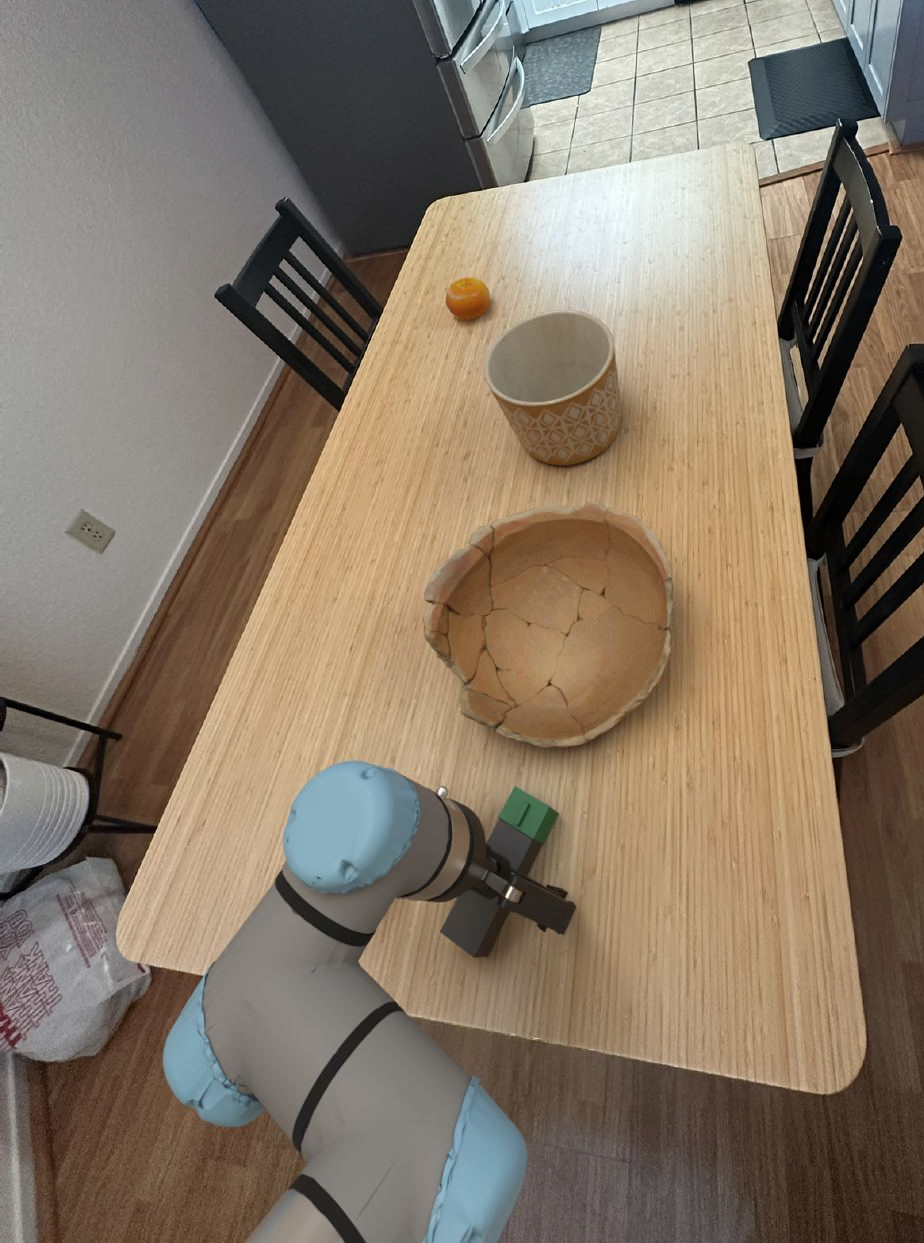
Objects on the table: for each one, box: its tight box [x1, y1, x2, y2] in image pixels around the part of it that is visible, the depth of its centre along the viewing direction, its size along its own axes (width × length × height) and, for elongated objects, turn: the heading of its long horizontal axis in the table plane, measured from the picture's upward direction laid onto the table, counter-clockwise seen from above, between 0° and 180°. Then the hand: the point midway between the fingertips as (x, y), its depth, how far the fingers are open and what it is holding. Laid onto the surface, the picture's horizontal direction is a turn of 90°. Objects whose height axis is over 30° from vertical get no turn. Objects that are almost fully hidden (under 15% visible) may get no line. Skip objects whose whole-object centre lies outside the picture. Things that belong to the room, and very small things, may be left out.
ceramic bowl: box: [422, 501, 675, 749], centre depth 79 cm, size 30×27×15 cm
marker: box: [439, 785, 560, 959], centre depth 68 cm, size 15×5×5 cm, turn 151°
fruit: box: [445, 277, 491, 321], centre depth 126 cm, size 8×8×8 cm
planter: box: [483, 309, 623, 466], centre depth 99 cm, size 19×19×16 cm
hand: (505, 868), depth 69 cm, fingers open, 13 cm apart
